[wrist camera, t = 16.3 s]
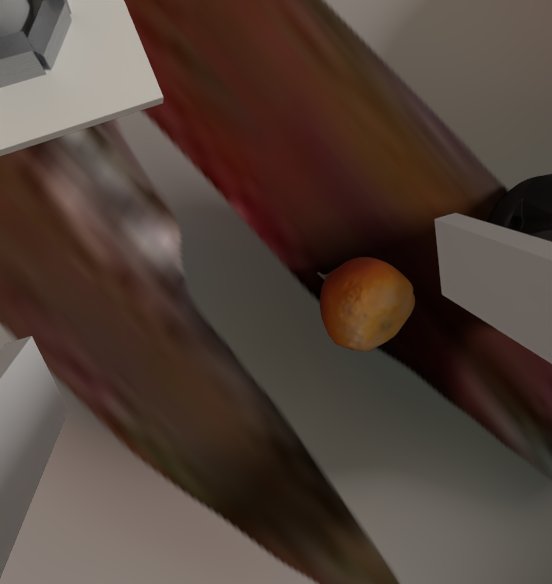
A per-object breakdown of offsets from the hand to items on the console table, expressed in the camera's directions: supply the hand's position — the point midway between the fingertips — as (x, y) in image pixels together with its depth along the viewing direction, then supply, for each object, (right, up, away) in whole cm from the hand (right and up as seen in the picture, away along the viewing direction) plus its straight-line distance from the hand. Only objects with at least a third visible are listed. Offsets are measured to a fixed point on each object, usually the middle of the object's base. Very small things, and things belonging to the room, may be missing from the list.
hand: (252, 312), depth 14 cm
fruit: (+7, 0, +27) cm, 28 cm away
